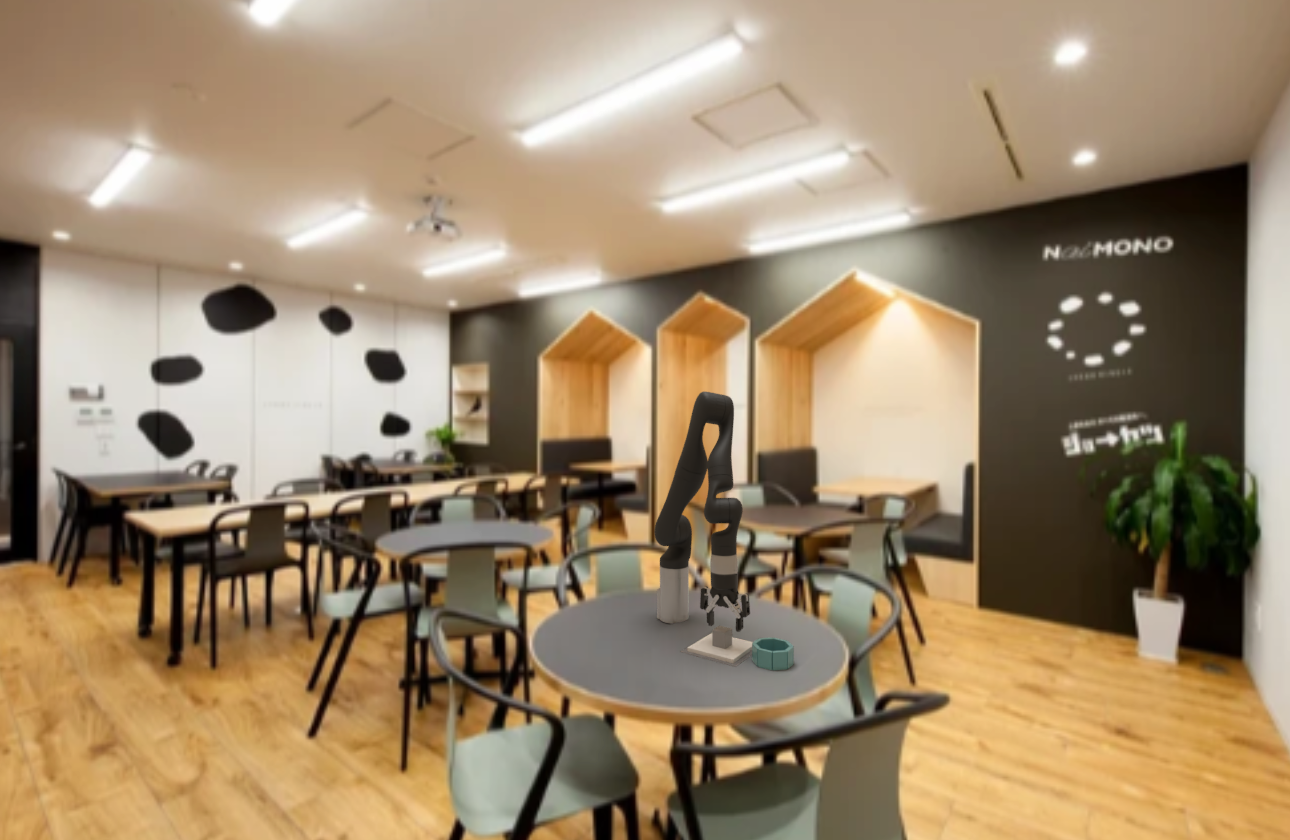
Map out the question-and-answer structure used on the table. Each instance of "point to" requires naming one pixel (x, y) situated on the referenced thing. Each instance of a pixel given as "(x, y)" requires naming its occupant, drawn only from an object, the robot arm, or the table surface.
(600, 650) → the table surface
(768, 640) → the bowl
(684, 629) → the table surface
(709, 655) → the lid
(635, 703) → the table surface
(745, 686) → the table surface
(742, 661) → the mat
